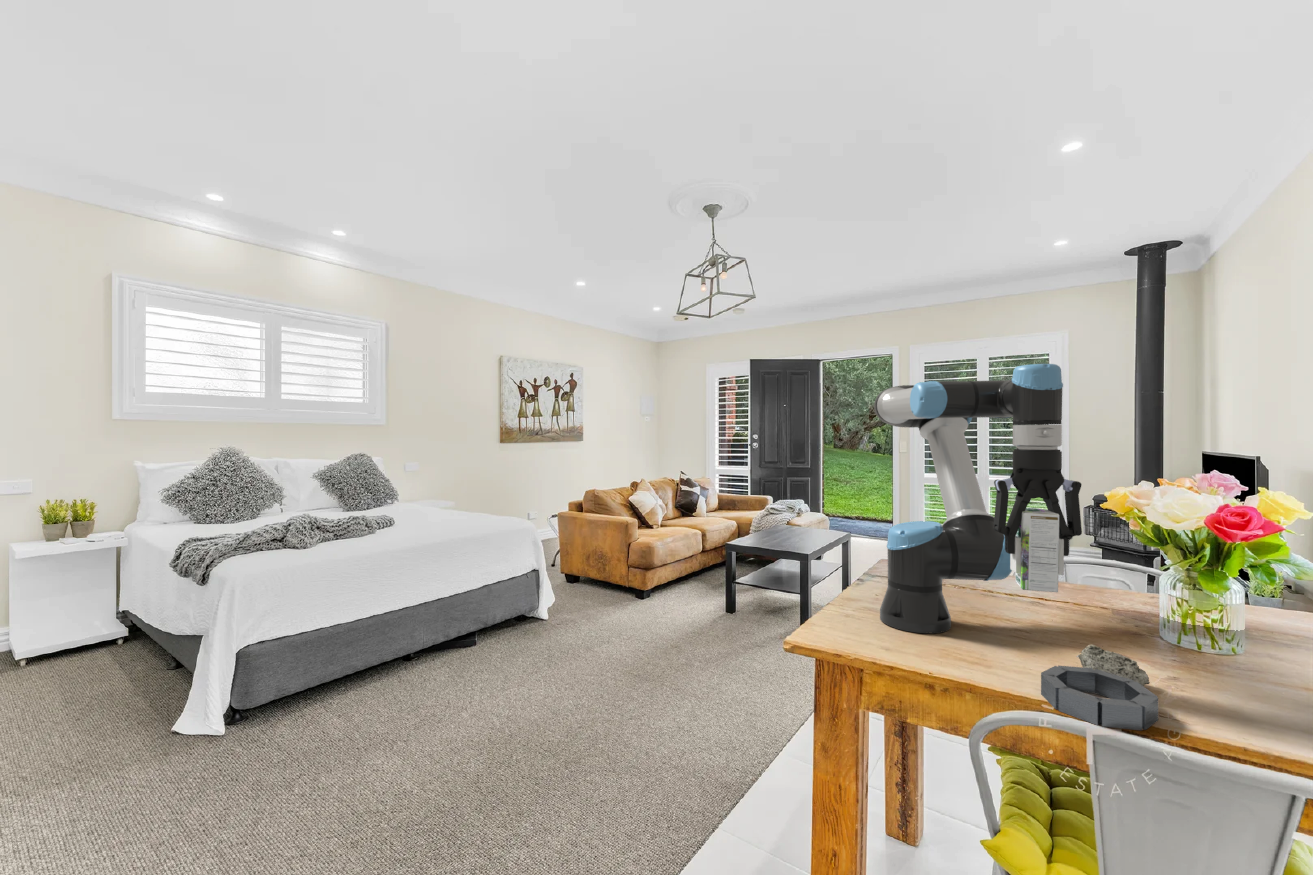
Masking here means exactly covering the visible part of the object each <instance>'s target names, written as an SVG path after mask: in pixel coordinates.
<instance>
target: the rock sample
mask: <svg viewBox="0 0 1313 875" xmlns="http://www.w3.org/2000/svg"><path fill="white" fill-rule="evenodd" d="M1102 647H1104V646H1103V645H1102ZM1075 657H1076V658H1078V659H1079V661H1080V664H1081V666H1082V667H1084V668H1092V669H1094V670H1095V669H1098V670H1101V671H1104V672H1108V673H1111V674H1114V675H1118V676H1121V677H1124V678H1128V679H1131V680H1134V682H1138V683H1139V684H1141V685H1142V686H1144V687H1145V686H1146V685H1150V683H1151V681H1150V678H1149V676H1148V674H1147V672H1146V670H1143V669H1142V668H1140V666H1139V665H1138V663H1137V661H1136V660H1134V659H1132V658H1130V657H1128V656H1125V655H1122V654H1120V653H1118V652H1114V651H1109V650H1105V649H1104V648H1101V647H1100V646H1098V645H1095V644H1088V645H1087V646H1085V647H1084V648H1083V649H1082V651H1080V653H1079V654H1078V655H1076V656H1075Z"/></svg>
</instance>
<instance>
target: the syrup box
mask: <svg viewBox="0 0 1313 875" xmlns="http://www.w3.org/2000/svg"><path fill="white" fill-rule="evenodd" d="M1016 536H1017V537H1020V538H1021V573H1016V572H1015V583H1016V584H1017V585H1018V586H1019V587H1020V588H1021V590H1022V591H1030V592H1031V591H1032V592H1044V593H1059V575H1058V573H1059V514H1056V513H1054V512H1051V511H1049V510H1048V509H1046V508H1038V507H1037V508H1036V507H1026V510H1025V511H1024V512H1022V520H1021V523H1020V526H1019V528H1018V531H1017V534H1016Z"/></svg>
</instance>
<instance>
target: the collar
mask: <svg viewBox="0 0 1313 875" xmlns="http://www.w3.org/2000/svg"><path fill="white" fill-rule="evenodd" d="M1088 693H1090V694H1088ZM1092 694H1097V695H1099V696H1102V697H1097V696H1095V695H1092ZM1040 695H1041V696H1042V697H1043V698H1044V699H1045V700H1046V701H1047V702H1048V704H1050V705H1051V706H1052V707H1053V708H1054V709H1055V710H1058V712H1060V713H1063V714H1066V715H1068V716H1072V717H1074V718H1077V719H1079V720H1082V721H1084V722H1087V723H1090V724H1093V725H1096V726H1099V725H1100V726H1101V727H1102V728H1103V727H1105V728H1113V729H1122V730H1123V729H1124V730H1132V731H1133V730H1134V731H1143V730H1144V731H1146V730H1148V729H1149V728H1150V727H1152V726H1153V725H1154V724H1156V723H1157V722H1158V721H1159V696H1157V694H1155V693H1154V692H1152V691H1150V690H1149V688H1146V686H1145V685H1144V686H1142V685H1141V684H1139V683H1138V682H1134V680H1131V679H1128V678H1124V677H1121V676H1118V675H1114V674H1111V673H1108V672H1104V671H1101V670H1098V669H1095V670H1094V669H1092V668H1084V667H1081V666H1069V665H1054V666H1052V667H1049V668H1048V669H1045V670H1044V671H1042V672H1041V673H1040Z"/></svg>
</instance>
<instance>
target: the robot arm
mask: <svg viewBox="0 0 1313 875" xmlns="http://www.w3.org/2000/svg"><path fill="white" fill-rule="evenodd" d="M1012 372H1013V373H1012V378H1011V379H1007V380H1006V379H1004V380H1001V379H1000V380H966V381H962V380H960V381H952V380H951V381H950V380H949V381H945V380H944V381H936V380H930V381H929V380H927V381H923V382H922V381H921V382H920V381H919V382H917V383H915V384H913V385H912V384H909V385H908V384H904V385H896V386H892V387H889V388H886V389H883V390H882V391H880V393H878V395H877V396H876V397H875V400H874V403H873V406H874V407H873V409H874V413H875V414H876V416H877V418H878V419H879V420H880V421H882V422H883V423H885V424H887V425H890V426H891V427H892V426H893V427H898V428H917V429H918V431H919V434H920V437H922V439H925V440H927V443H928V445H929V449H930V453H931V458H932V461H933V466H934V470H935V474H936V475H935V476H936V478H937V482H938V486H939V491H940V495H941V498H942V502H943V506H944V511H945V515H946V520H945V521H944V522H943V523H941V522H937V521H932V520H931V521H930V520H928V521H927V520H925V521H923V520H916V521H907V522H900V523H898V524H895V525H893V526H891V527H890V528H889V530H888V532H887V543H886V549H887V588H886V591H885V594H884V597H883V599H882V602H881V605H880V606H879V608H880V609H879V619H880V621H881V622H882V623H884V624H885V625H887V626H889V627H892V628H894V629H897V630H901V631H905V632H911V633H918V634H941V633H945V632H948V631H949V630H950V629H951V628H952V617H951V615H950V611H949V608H948V605H947V603H946V600H945V597H944V593H943V580H965V581H967V580H968V581H984V582H988V581H1001V580H1004V579H1006V578H1008V577H1009V576H1010V574H1011V573H1012V572H1014V573H1015V574H1016V573H1021V538H1020V537H1017V536H1016V534H1017V531H1018V528H1019V526H1020V523H1021V520H1022V512H1024V511H1025V510H1026V508H1028V505H1029V504H1030V502H1031V500H1032V499H1039V498H1040V499H1042V500H1043V502H1044V503H1045V505H1046V508H1047V509H1046V510H1049V511H1051V512H1054V513H1056V514H1059V573H1058V576H1064V574H1065V573H1064V571H1065V568H1064V566H1065V565H1064V564H1065V563H1064V561H1065V560H1064V558H1065V557H1068V556H1069V555H1070V541H1071V540H1072V539H1073V537H1076V536H1077V537H1078V536H1082V534H1083V529H1082V520H1081V506H1080V496H1079V494H1080V491H1081V488H1082V483H1081V482H1080V481H1078V480H1072V479H1071V480H1070V479H1066V478H1065V477H1064V476H1063V474H1062V468H1063V465H1062V464H1063V462H1062V461H1063V457H1062V455H1063V452H1062V450H1061V449H1059V447H1061V446H1062V445H1063V444H1062V443H1063V440H1062V439H1063V434H1062V433H1063V429H1062V428H1063V426H1062V424H1063V423H1062V421H1063V420H1062V419H1063V388H1064V383H1063V382H1062V380H1063V379H1062V368H1061V367H1060V365H1058V364H1055V363H1034V364H1033V363H1032V364H1022V365H1018V366H1015V367H1014V369H1013V371H1012ZM973 418H995V419H1009V418H1012V446H1014V447H1016V448H1015V449H1013V450H1012V472H1011V475H1010V476H1009V477H1008V478H1003V479H994V481H993V484H994V488H995V491H996V498H995V508H994V515H991V514H989V513H988V512H987V508H986V507H985V506H986V505H985V503H984V499H983V495H982V492H981V488H980V486H979V482H978V478H977V475H976V472H975V471H976V470H975V468H974V464H973V460H972V457H971V454H970V450H969V446H968V444H967V440H966V439H967V438H966V436H965V432H966V431H967V429H968V428H969V425H970V424H971V423H972V420H973ZM1011 486H1014V488H1015V489H1016V490H1017V492H1016V494H1015V499H1014V503H1013V506H1012V508H1011V511H1010V514H1009V516H1008V507H1009V506H1008V505H1009V491H1011ZM1060 487H1062V489H1063V491H1064V503H1065V515H1066V516H1065V517H1066V520H1065V517H1064V514H1063V512H1062V508H1061V506H1060V503H1059V502H1060V500H1059V497H1058V495H1057V492H1058V491H1059V489H1060ZM1007 517H1008V520H1007Z"/></svg>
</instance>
